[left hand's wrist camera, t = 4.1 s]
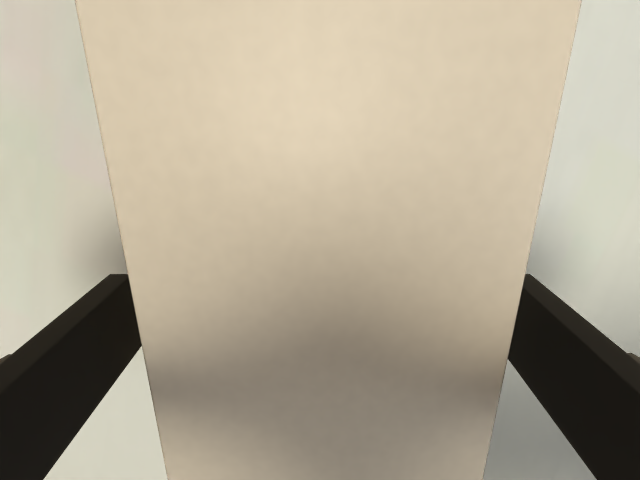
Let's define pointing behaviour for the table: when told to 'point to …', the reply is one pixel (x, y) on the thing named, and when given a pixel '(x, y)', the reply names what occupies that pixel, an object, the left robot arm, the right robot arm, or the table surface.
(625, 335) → the table surface
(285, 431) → the long beige bar
